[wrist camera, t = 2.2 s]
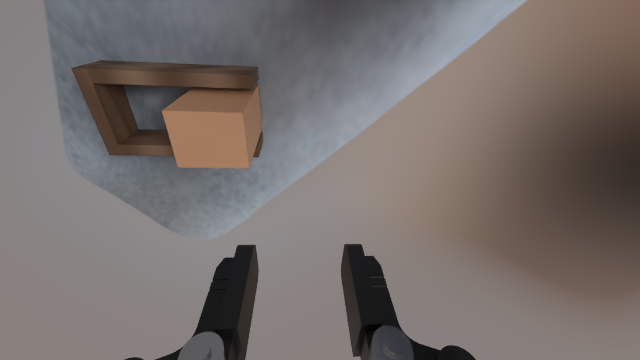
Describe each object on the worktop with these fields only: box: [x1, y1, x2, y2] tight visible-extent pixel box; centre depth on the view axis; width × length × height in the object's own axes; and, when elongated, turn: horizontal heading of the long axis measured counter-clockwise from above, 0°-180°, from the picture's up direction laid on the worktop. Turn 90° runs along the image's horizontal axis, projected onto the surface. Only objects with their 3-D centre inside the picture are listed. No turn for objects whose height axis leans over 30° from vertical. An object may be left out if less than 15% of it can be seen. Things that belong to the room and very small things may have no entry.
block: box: [162, 85, 262, 168], centre depth 25 cm, size 6×5×9 cm
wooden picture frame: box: [71, 60, 263, 157], centre depth 27 cm, size 15×8×4 cm, turn 87°
